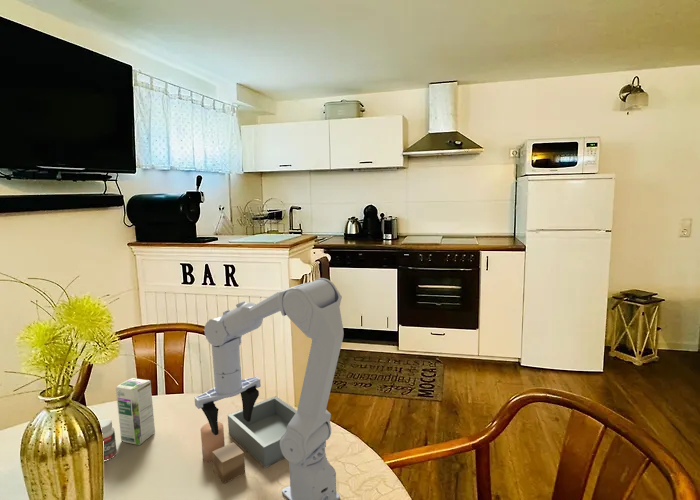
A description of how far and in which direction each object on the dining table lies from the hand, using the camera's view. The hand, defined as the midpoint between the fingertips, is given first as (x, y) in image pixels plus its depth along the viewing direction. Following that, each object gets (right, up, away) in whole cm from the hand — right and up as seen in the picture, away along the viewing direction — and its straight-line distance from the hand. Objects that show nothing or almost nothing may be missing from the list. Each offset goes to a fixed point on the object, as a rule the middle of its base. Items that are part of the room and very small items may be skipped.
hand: (231, 426), depth 96 cm
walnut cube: (0, -9, -2) cm, 10 cm away
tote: (+7, -7, +10) cm, 14 cm away
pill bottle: (-31, -9, +4) cm, 32 cm away
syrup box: (-27, -8, +12) cm, 30 cm away
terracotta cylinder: (-5, -8, +4) cm, 10 cm away
